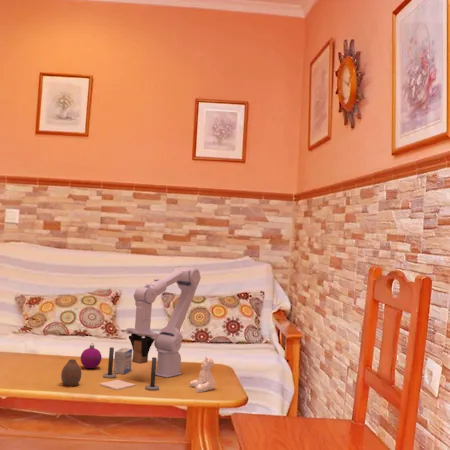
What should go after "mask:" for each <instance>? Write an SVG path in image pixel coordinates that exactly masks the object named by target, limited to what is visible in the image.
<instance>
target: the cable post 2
mask: <svg viewBox="0 0 450 450" xmlns="http://www.w3.org/2000/svg"><path fill="white" fill-rule="evenodd" d="M157 359H158V357H154V356H153V357H152V358H151V367H150V369H151V370H150V380H149V381H150V382H149V383H150V384H147V385H145V387H144V389H145V390H146V391H150V392H152V391H153V392H155V391H159V390H160V386H159V385H157V384H156V375H155V374H156V372H157Z"/></svg>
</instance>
